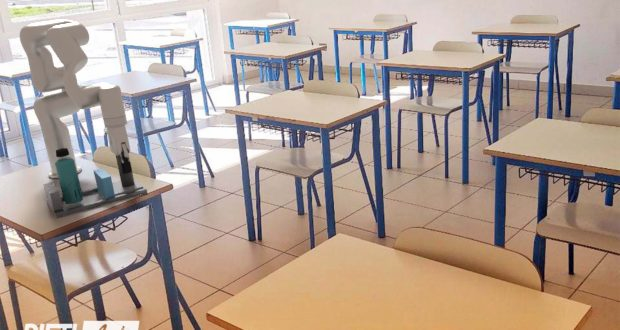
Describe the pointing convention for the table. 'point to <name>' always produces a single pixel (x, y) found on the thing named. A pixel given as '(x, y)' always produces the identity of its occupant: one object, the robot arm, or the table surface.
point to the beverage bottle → (68, 177)
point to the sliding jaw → (117, 188)
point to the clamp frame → (56, 200)
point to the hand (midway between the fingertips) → (125, 170)
